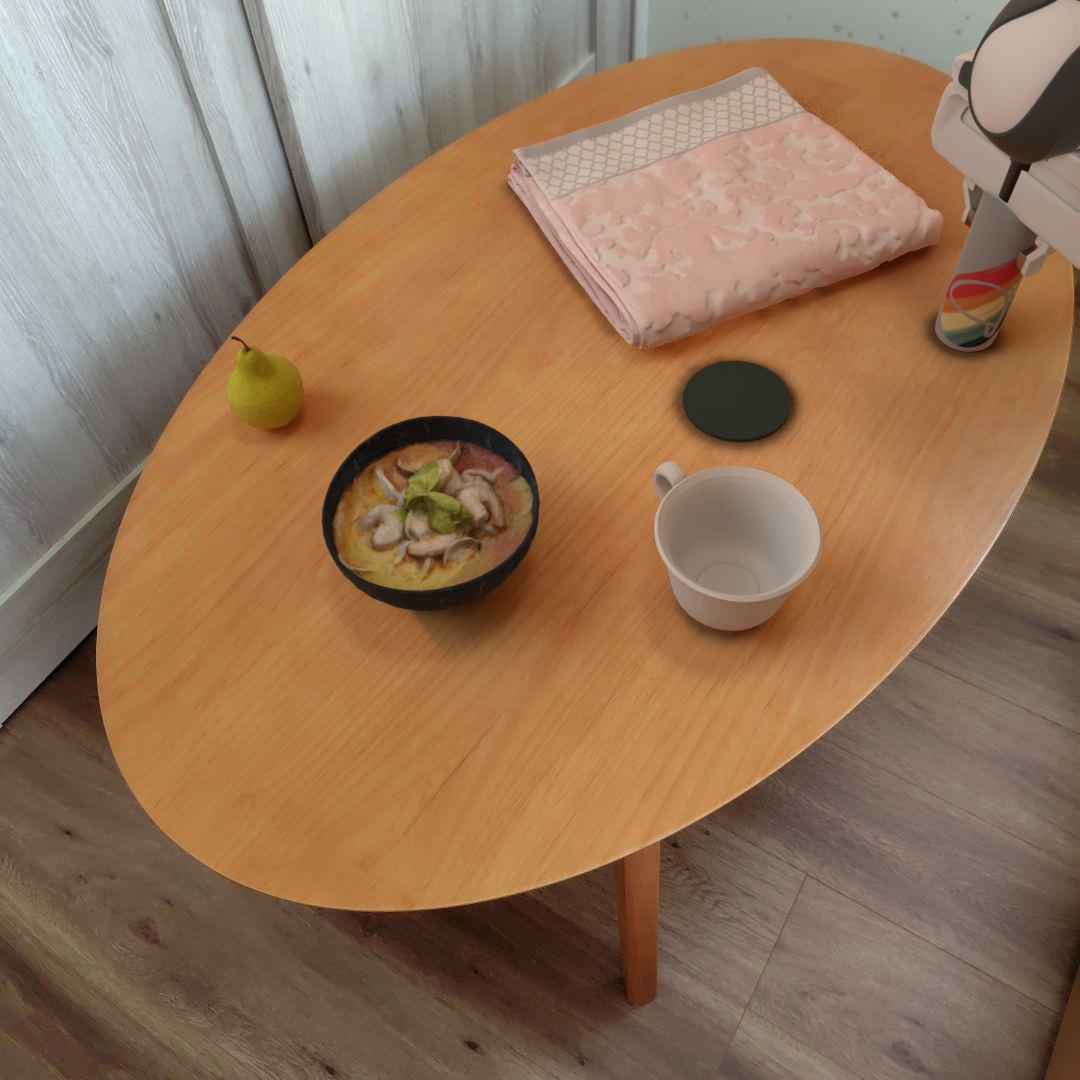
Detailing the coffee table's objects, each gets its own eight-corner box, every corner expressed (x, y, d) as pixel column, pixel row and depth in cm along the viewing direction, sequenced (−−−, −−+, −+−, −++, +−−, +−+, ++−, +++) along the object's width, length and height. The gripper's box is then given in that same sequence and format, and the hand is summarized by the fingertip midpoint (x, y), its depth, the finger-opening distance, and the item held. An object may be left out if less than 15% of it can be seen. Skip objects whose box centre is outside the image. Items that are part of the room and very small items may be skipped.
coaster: (755, 350, 92) (755, 347, 92) (811, 419, 86) (812, 416, 86) (663, 384, 90) (663, 381, 90) (715, 456, 85) (716, 453, 84)
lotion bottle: (962, 361, 89) (1041, 175, 73) (920, 326, 92) (987, 139, 76) (1008, 338, 91) (1095, 150, 74) (965, 304, 94) (1040, 116, 77)
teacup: (709, 494, 82) (719, 417, 74) (833, 612, 75) (859, 540, 67) (598, 564, 79) (596, 492, 71) (717, 695, 71) (730, 630, 63)
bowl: (336, 656, 76) (302, 591, 67) (355, 487, 85) (328, 413, 77) (548, 646, 75) (540, 579, 67) (543, 477, 85) (535, 400, 76)
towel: (764, 98, 116) (770, 52, 112) (942, 254, 98) (958, 207, 93) (500, 185, 110) (495, 140, 105) (637, 371, 91) (639, 326, 86)
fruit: (256, 387, 93) (214, 293, 84) (322, 393, 92) (287, 298, 83) (232, 440, 90) (184, 347, 80) (299, 447, 89) (260, 353, 79)
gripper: (1198, 156, 67) (1113, 306, 78) (1006, 27, 78) (956, 175, 89) (1126, 182, 65) (1050, 331, 77) (941, 48, 77) (899, 195, 88)
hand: (998, 246), depth 83 cm, fingers closed on lotion bottle, 6 cm apart
